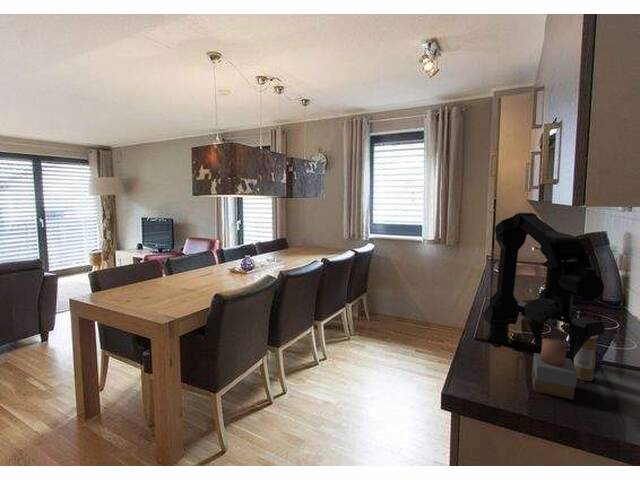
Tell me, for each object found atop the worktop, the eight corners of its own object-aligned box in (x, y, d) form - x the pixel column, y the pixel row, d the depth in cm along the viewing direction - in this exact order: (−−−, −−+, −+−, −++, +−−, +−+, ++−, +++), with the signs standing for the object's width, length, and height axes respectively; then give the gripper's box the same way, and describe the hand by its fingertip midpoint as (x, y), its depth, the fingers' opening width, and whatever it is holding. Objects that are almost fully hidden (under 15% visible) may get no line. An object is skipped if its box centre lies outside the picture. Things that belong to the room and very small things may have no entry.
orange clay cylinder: (562, 359, 89) (564, 340, 88) (566, 368, 84) (568, 348, 84) (539, 355, 91) (541, 336, 90) (541, 363, 87) (543, 344, 86)
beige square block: (531, 377, 94) (532, 365, 93) (568, 385, 90) (569, 372, 89) (533, 392, 87) (534, 379, 86) (573, 401, 83) (574, 387, 82)
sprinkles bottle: (596, 378, 92) (601, 329, 91) (588, 383, 90) (593, 332, 88) (576, 371, 96) (581, 323, 95) (568, 375, 94) (573, 327, 92)
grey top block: (532, 365, 93) (534, 352, 93) (569, 372, 89) (570, 359, 89) (536, 379, 86) (537, 365, 85) (576, 387, 82) (577, 373, 82)
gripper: (502, 281, 92) (498, 338, 94) (572, 302, 74) (566, 372, 76) (535, 278, 95) (530, 334, 97) (609, 297, 78) (602, 364, 80)
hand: (553, 349), depth 88 cm, fingers open, 9 cm apart
